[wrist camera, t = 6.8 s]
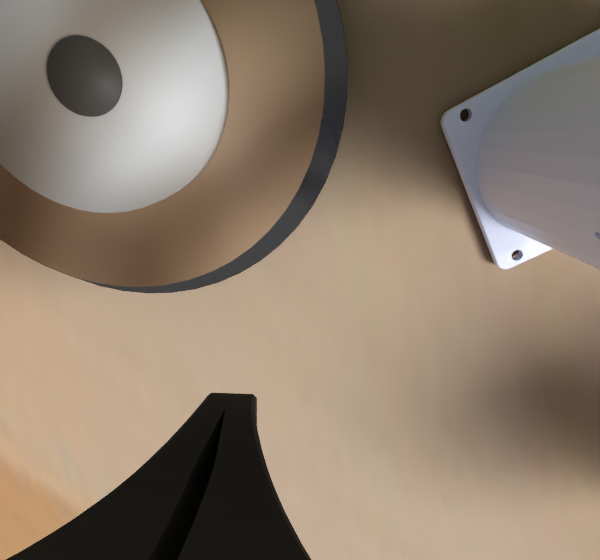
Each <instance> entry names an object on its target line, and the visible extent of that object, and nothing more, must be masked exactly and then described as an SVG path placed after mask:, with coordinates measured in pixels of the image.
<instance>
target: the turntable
mask: <svg viewBox="0 0 600 560" xmlns="http://www.w3.org/2000/svg"><path fill="white" fill-rule="evenodd" d="M324 88H325V67H324V52H323V41H322V35H321V30H320V25H319V19H318V14H317V9H316V6H315V2H314V0H0V239H1V240H2V241H4V242H5V243H7V244H8V245H10V246H11V247H13V248H14V249H16V250H17V251H19V252H20V253H22V254H23V255H25V256H27V257H29V258H31V259H33V260H35V261H37V262H39V263H41V264H42V265H44V266H46V267H49V268H51V269H54V270H56V271H59V272H62V273H64V274H67V275H69V276H72V277H76V278H80V279H83V280H87V281H91V282H94V283H101V284H107V285H114V286H126V287H149V286H160V285H168V284H173V283H177V282H182V281H186V280H190V279H193V278H196V277H199V276H201V275H204V274H207V273H210V272H212V271H214V270H216V269H218V268H220V267H222V266H223V265H225V264H227V263H229V262H231V261H233V260H234V259H236V258H237V257H238V256H240V255H241V254H243V253H244V252H245V251H247V250H248V249H250V248H251V247H252V246H253V245H254V244H256V243H257V242H258V241H259V240H260V239H261V238H262V237H263V236H264V235H265V234H266V233H267V232H268V231H269V230H270V229H271V228H272V227H273V225H274V224H275V223H276V222H277V221H278V219H279V218H280V217H281V216H282V214H283V213H284V212H285V211H286V209H287V207H288V206H289V204H290V203H291V201H292V199H293V198H294V196H295V194H296V193H297V191H298V189H299V188H300V185H301V183H302V181H303V179H304V176H305V174H306V172H307V170H308V167H309V165H310V163H311V159H312V156H313V153H314V149H315V146H316V143H317V139H318V136H319V130H320V125H321V119H322V113H323V107H324Z"/></svg>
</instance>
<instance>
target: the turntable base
mask: <svg viewBox="0 0 600 560" xmlns="http://www.w3.org/2000/svg"><path fill="white" fill-rule="evenodd" d="M314 2H315V6H316V9H317V14H318V19H319V25H320V30H321V35H322V41H323V52H324V67H325V88H324V107H323V113H322V119H321V125H320V130H319V136H318V139H317V143H316V146H315V149H314V153H313V156H312V159H311V163H310V165H309V167H308V170H307V172H306V174H305V176H304V179H303V181H302V183H301V185H300V188H299V189H298V191H297V193H296V194H295V196H294V198H293V199H292V201H291V203H290V204H289V206H288V207H287V209H286V211H285V212H284V213H283V214H282V216H281V217H280V218H279V219H278V221H277V222H276V223H275V224H274V225H273V227H272V228H271V229H270V230H269V231H268V232H267V233H266V234H265V235H264V236H263V237H262V238H261V239H260V240H259V241H258V242H257V243H256V244H254V245H253V246H252V247H251V248H250V249H248V250H247V251H245V252H244V253H243V254H241V255H240V256H238V257H237V258H236V259H234V260H233V261H231V262H229V263H227V264H225V265H223V266H222V267H220V268H218V269H216V270H214V271H212V272H210V273H207V274H204V275H201V276H199V277H196V278H193V279H190V280H186V281H182V282H177V283H173V284H168V285H160V286H149V287H126V286H114V285H107V284H101V283H94V282H91V281H87V280H84V281H87V282H90V283H93V284H96V285H99V286H103V287H108V288H113V289H117V290H122V291H131V292H141V293H170V292H178V291H185V290H191V289H197V288H200V287H204V286H207V285H211V284H214V283H218V282H220V281H222V280H225V279H227V278H229V277H232V276H234V275H236V274H239V273H241V272H242V271H244V270H246V269H247V268H249V267H251V266H252V265H254V264H256V263H257V262H259V261H261V260H262V259H263V258H264V257H266V256H267V255H268V254H269V253H271V252H272V251H273V250H274V249H276V248H277V247H278V246H279V245H280V244H281V243H282V242H283V241H284V240H285V239H286V238H287V237H288V236H289V235H290V234H291V233H292V232H293V231H294V230H295V229H296V228H297V226H298V225H299V224H300V222H301V221H302V220H303V218H304V217H305V215H306V214H307V213H308V211H309V210H310V209H311V207H312V206H313V204H314V202H315V200H316V199H317V197H318V195H319V193H320V191H321V189H322V188H323V186H324V184H325V182H326V180H327V177H328V174H329V172H330V169H331V167H332V164H333V162H334V159H335V157H336V153H337V149H338V145H339V141H340V137H341V133H342V129H343V124H344V116H345V108H346V100H347V59H346V49H345V40H344V31H343V27H342V23H341V18H340V14H339V10H338V5H337V1H336V0H314ZM75 278H76V277H75ZM78 279H80V278H78ZM81 280H83V279H81Z"/></svg>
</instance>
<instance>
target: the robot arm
mask: <svg viewBox="0 0 600 560" xmlns="http://www.w3.org/2000/svg"><path fill="white" fill-rule="evenodd" d="M463 109H466V110H467V111H468V112H469V117H468V119H467V120H466V121H462V120H461V119H460V113H461V111H462V110H463ZM441 127H442V130H443V133H444V135H445V138H446V140H447V143H448V146H449V148H450V151H451V153H452V156H453V158H454V161H455V164H456V166H457V169H458V171H459V174H460V177H461V179H462V182H463V184H464V187H465V189H466V192H467V195H468V197H469V200H470V202H471V205H472V208H473V210H474V213H475V215H476V218H477V220H478V223H479V226H480V228H481V231H482V233H483V236H484V239H485V241H486V244H487V246H488V249H489V251H490V254H491V257H492V259H493V262H494V264H495V265H496V266H497V267H499V268H501V269H510V268H512V267H514V266H516V265H518V264H521V263H523V262H525V261H527V260H529V259H531V258H534V257H536V256H538V255H540V254H542V253H545V252H547V251H549V250H551V249H555V250H558V251H560V252H562V253H564V254H566V255H569V256H571V257H573V258H575V259H577V260H580V261H582V262H584V263H586V264H588V265H591V266H593V267H595V268H597V269H600V28H599V29H597V30H596V31H594V32H592V33H590V34H588V35H586V36H584V37H583V38H581V39H579V40H577V41H575V42H573V43H572V44H570V45H568V46H566V47H564V48H562V49H560V50H559V51H557V52H555V53H553V54H551V55H549V56H547V57H546V58H544V59H542V60H540V61H538V62H536V63H534V64H533V65H531V66H529V67H527V68H525V69H523V70H522V71H520V72H518V73H516V74H514V75H512V76H510V77H509V78H507V79H505V80H503V81H501V82H499V83H497V84H496V85H494V86H492V87H490V88H488V89H486V90H484V91H483V92H481V93H479V94H477V95H475V96H473V97H471V98H470V99H468V100H466V101H464V102H462V103H460V104H459V105H457V106H455V107H453V108H451V109H449V110H448V111H446V112H445V113H444V114H443V116H442V118H441ZM515 250H519V253H518V255H517V256H516V257H515V258H512V253H513V252H514V251H515ZM6 560H311V559H310V557H309V555H308V554H307V552H306V550H305V549H304V547H303V545H302V544H301V542H300V540H299V538H298V536H297V534H296V532H295V530H294V529H293V527H292V525H291V523H290V521H289V519H288V517H287V515H286V513H285V511H284V509H283V507H282V504H281V502H280V500H279V498H278V495H277V493H276V490H275V488H274V486H273V483H272V480H271V478H270V475H269V472H268V469H267V466H266V462H265V459H264V456H263V452H262V449H261V444H260V440H259V436H258V431H257V398H256V397H255V396H254V395H253V394H230V393H211V394H209V395H208V396H207V397H206V399H205V400H204V401H203V402H202V403H201V405H200V406H199V407H198V408H197V409H196V411H195V412H194V413H193V414H192V415H191V416H190V418H189V419H188V420H187V421H186V422H185V423H184V424H183V425H182V427H181V428H180V429H179V430H178V431H177V432H176V433H175V434H174V435H173V436H172V437H171V438H170V439H169V440H168V442H167V443H166V444H165V445H164V446H163V447H161V448H160V449H159V450H158V451H157V452H156V453H155V454H154V455H153V456H152V457H151V458H150V459H149V460H148V461H147V462H146V463H145V464H144V465H143V466H142V467H140V468H139V469H138V470H137V471H136V472H135V473H134V474H133V475H131V476H130V477H129V478H128V479H127V480H125V481H124V482H123V483H122V484H121V485H119V486H118V487H117V488H116V489H114V490H113V491H112V492H111V493H109V494H108V495H107V496H105V497H104V498H103V499H101V500H100V501H98V502H97V503H96V504H94V505H93V506H91V507H90V508H89V509H87V510H86V511H84V512H83V513H82V514H80V515H79V516H77V517H76V518H75V519H73V520H72V521H70V522H68V523H67V524H65V525H64V526H62V527H61V528H59V529H58V530H56V531H54V532H53V533H51V534H50V535H48V536H46V537H45V538H43V539H41V540H40V541H38V542H36V543H35V544H33V545H31V546H30V547H28V548H26V549H24V550H23V551H21V552H19V553H17V554H16V555H14V556H12V557H10V558H8V559H6Z"/></svg>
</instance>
